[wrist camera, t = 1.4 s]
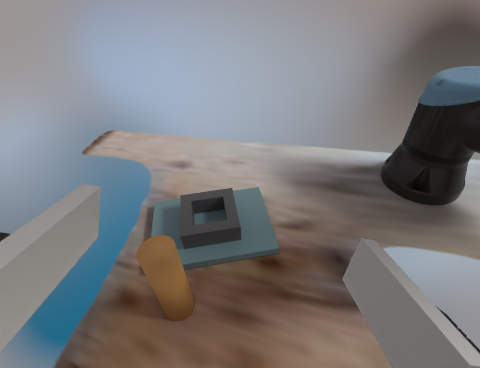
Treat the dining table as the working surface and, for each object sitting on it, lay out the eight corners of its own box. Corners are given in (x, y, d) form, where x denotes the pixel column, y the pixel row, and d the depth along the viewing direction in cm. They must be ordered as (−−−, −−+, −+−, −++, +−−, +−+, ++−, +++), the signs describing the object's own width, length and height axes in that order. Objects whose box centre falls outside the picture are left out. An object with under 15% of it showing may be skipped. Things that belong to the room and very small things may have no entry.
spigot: (194, 289, 41) (175, 232, 32) (195, 317, 38) (175, 263, 29) (165, 294, 41) (139, 238, 32) (164, 323, 38) (134, 270, 29)
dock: (258, 192, 58) (258, 174, 54) (278, 253, 46) (280, 234, 42) (156, 207, 56) (150, 189, 52) (149, 275, 44) (140, 258, 40)
